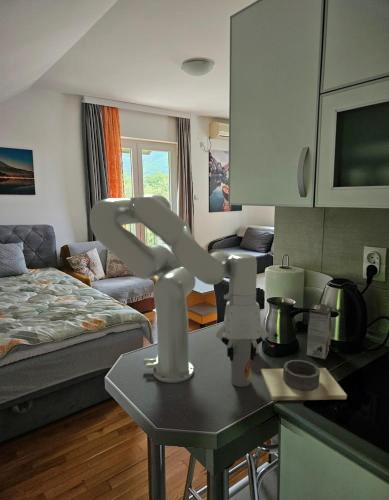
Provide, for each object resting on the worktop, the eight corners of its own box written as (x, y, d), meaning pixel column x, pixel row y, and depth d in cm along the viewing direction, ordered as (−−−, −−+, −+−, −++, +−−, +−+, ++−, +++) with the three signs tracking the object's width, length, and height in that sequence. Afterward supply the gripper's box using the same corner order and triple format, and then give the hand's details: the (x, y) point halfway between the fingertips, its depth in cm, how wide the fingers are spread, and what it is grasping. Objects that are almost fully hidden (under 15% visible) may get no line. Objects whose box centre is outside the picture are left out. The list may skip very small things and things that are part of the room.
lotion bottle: (253, 379, 97) (254, 315, 94) (246, 389, 93) (246, 322, 89) (235, 374, 100) (236, 312, 97) (227, 384, 96) (227, 318, 92)
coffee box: (311, 344, 120) (313, 302, 118) (330, 348, 117) (333, 305, 114) (305, 355, 112) (308, 309, 110) (325, 359, 109) (328, 313, 107)
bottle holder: (272, 400, 88) (272, 382, 87) (260, 372, 101) (261, 356, 101) (346, 399, 88) (347, 381, 87) (325, 371, 102) (326, 355, 101)
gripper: (212, 303, 88) (212, 365, 91) (276, 302, 89) (274, 364, 92) (211, 294, 96) (211, 352, 99) (269, 294, 96) (267, 352, 99)
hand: (241, 358), depth 95 cm, fingers closed on lotion bottle, 5 cm apart
